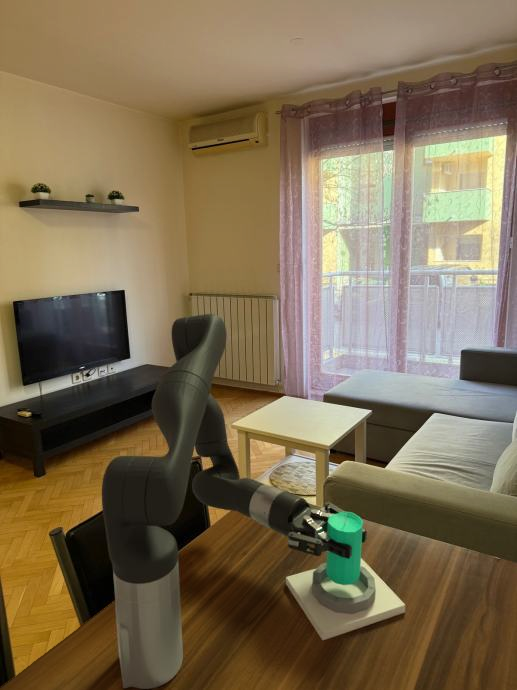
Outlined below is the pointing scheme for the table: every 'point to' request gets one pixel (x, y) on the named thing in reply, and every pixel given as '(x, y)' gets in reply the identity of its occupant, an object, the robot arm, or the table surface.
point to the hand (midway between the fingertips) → (358, 544)
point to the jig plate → (344, 591)
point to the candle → (348, 532)
